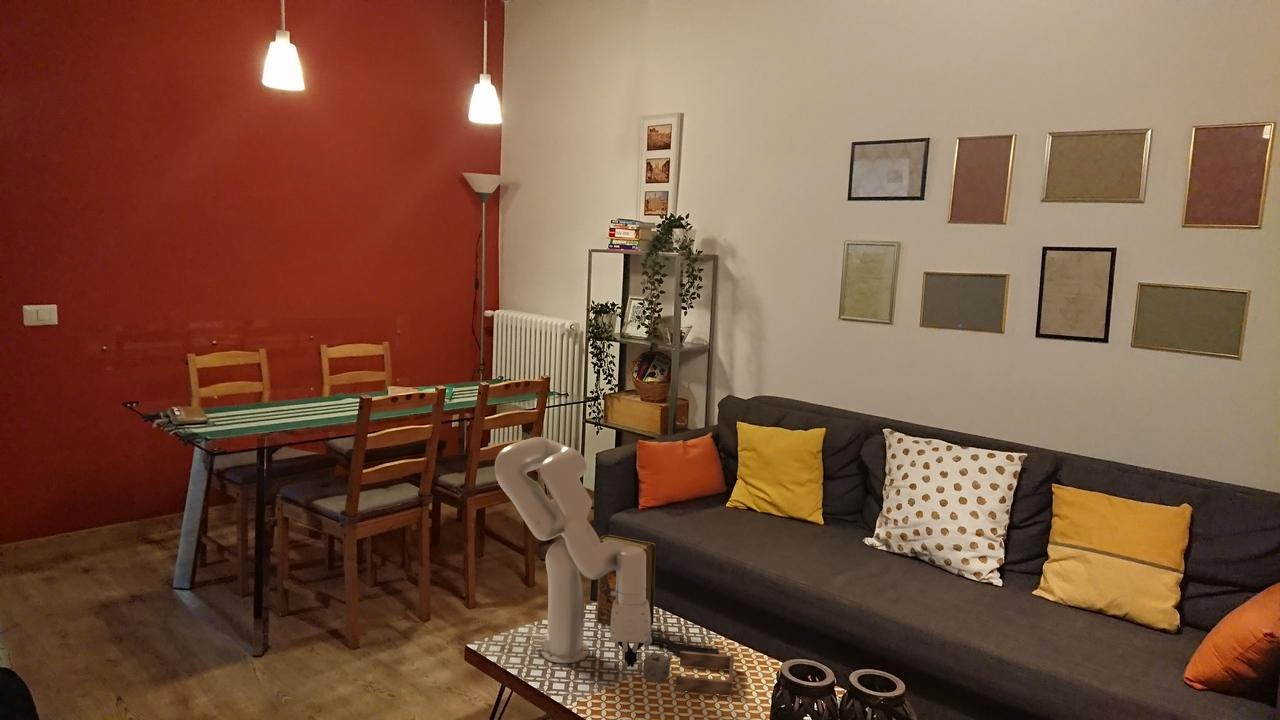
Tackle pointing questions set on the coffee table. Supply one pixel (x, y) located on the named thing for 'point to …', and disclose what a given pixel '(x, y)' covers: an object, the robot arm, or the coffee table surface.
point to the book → (609, 580)
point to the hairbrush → (683, 646)
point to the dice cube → (656, 667)
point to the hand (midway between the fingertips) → (630, 664)
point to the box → (703, 683)
